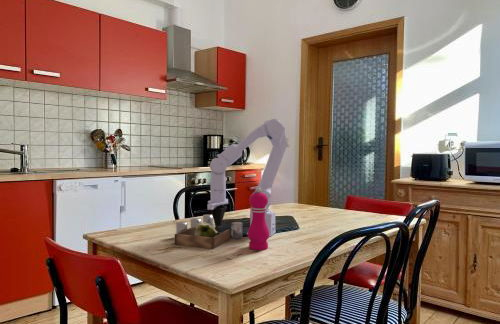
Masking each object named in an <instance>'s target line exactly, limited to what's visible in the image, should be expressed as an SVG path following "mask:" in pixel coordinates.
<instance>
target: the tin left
mask: <svg viewBox="0 0 500 324" xmlns="http://www.w3.org/2000/svg"><path fill="white" fill-rule="evenodd" d="M243 225H244V224H243V222H241V221H234V222H231V239H232V240H242V239H243V232H244V231H243V229H244V228H243Z"/></svg>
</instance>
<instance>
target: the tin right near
mask: <svg viewBox="0 0 500 324" xmlns="http://www.w3.org/2000/svg"><path fill="white" fill-rule="evenodd" d="M201 222H202V218H200V217H194V218H193V217H192V218H190V228H191V227H194V226H195V225H196V224H197V223H201Z"/></svg>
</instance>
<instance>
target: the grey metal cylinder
mask: <svg viewBox="0 0 500 324" xmlns="http://www.w3.org/2000/svg"><path fill="white" fill-rule="evenodd" d="M203 222H206V223H208V224H210V225H211V226H212V227H213V226H214V219H213V216H212V214H203V215H202V223H203Z"/></svg>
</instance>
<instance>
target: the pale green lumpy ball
mask: <svg viewBox="0 0 500 324" xmlns="http://www.w3.org/2000/svg"><path fill="white" fill-rule="evenodd" d="M218 233H219V232H218V231H217V230H216V228H215V225H213V227H212V226H211V225H210V224H208V223H206V222H203V221H201V223H197V224H196V225H195V234H194V236H202V237H214V236H216V235H218Z"/></svg>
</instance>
